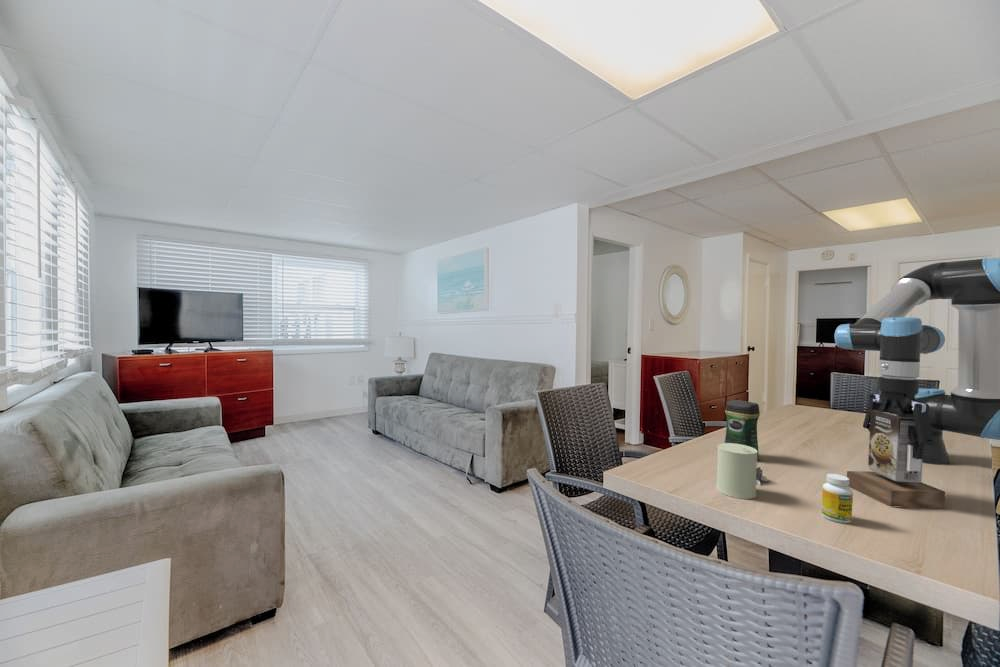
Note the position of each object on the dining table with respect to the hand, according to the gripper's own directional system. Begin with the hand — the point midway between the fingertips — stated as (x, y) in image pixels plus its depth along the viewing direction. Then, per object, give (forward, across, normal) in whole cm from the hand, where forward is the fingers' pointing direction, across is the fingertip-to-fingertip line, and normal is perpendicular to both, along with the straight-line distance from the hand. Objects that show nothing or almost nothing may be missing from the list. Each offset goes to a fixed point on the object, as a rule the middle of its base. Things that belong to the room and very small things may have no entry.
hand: (894, 463), depth 107 cm
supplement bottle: (+9, +13, -25) cm, 30 cm away
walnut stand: (+8, 0, 0) cm, 8 cm away
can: (+9, -1, -40) cm, 41 cm away
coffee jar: (+9, -30, -22) cm, 38 cm away
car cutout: (+9, -11, -27) cm, 30 cm away
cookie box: (+3, 0, 0) cm, 3 cm away
